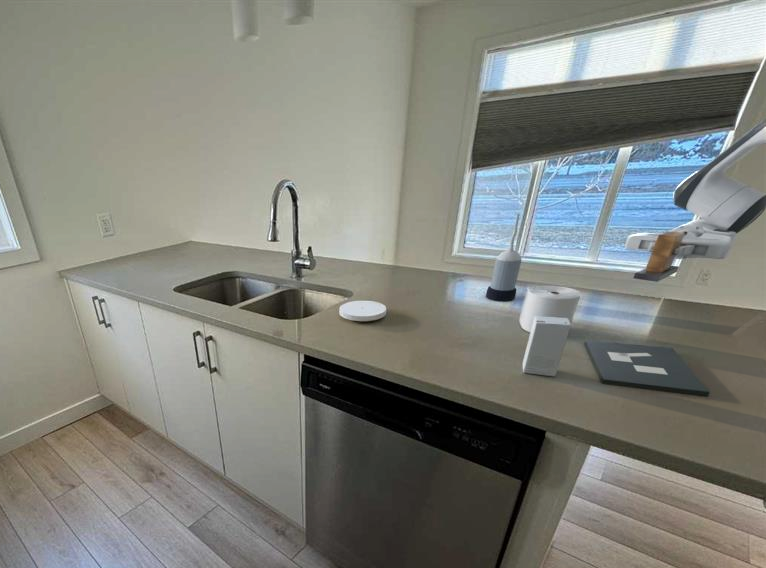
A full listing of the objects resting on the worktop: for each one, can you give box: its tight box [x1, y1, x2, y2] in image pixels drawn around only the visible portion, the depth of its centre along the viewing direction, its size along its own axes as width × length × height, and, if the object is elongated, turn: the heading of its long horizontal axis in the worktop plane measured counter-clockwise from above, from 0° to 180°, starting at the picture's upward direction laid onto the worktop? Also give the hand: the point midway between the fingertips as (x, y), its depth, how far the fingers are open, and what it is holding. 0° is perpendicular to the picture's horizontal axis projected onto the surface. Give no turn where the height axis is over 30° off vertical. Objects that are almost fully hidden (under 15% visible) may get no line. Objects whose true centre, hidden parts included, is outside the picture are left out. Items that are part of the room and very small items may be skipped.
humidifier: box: [485, 213, 526, 303], centre depth 123 cm, size 8×8×25 cm
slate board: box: [583, 339, 711, 397], centre depth 87 cm, size 16×20×1 cm
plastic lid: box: [338, 300, 387, 322], centre depth 125 cm, size 14×14×2 cm
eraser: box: [632, 230, 685, 283], centre depth 104 cm, size 5×12×10 cm, turn 121°
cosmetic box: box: [522, 316, 572, 377], centre depth 86 cm, size 6×4×12 cm
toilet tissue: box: [519, 284, 582, 334], centre depth 105 cm, size 11×12×10 cm
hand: (664, 250), depth 103 cm, fingers closed on eraser, 3 cm apart
